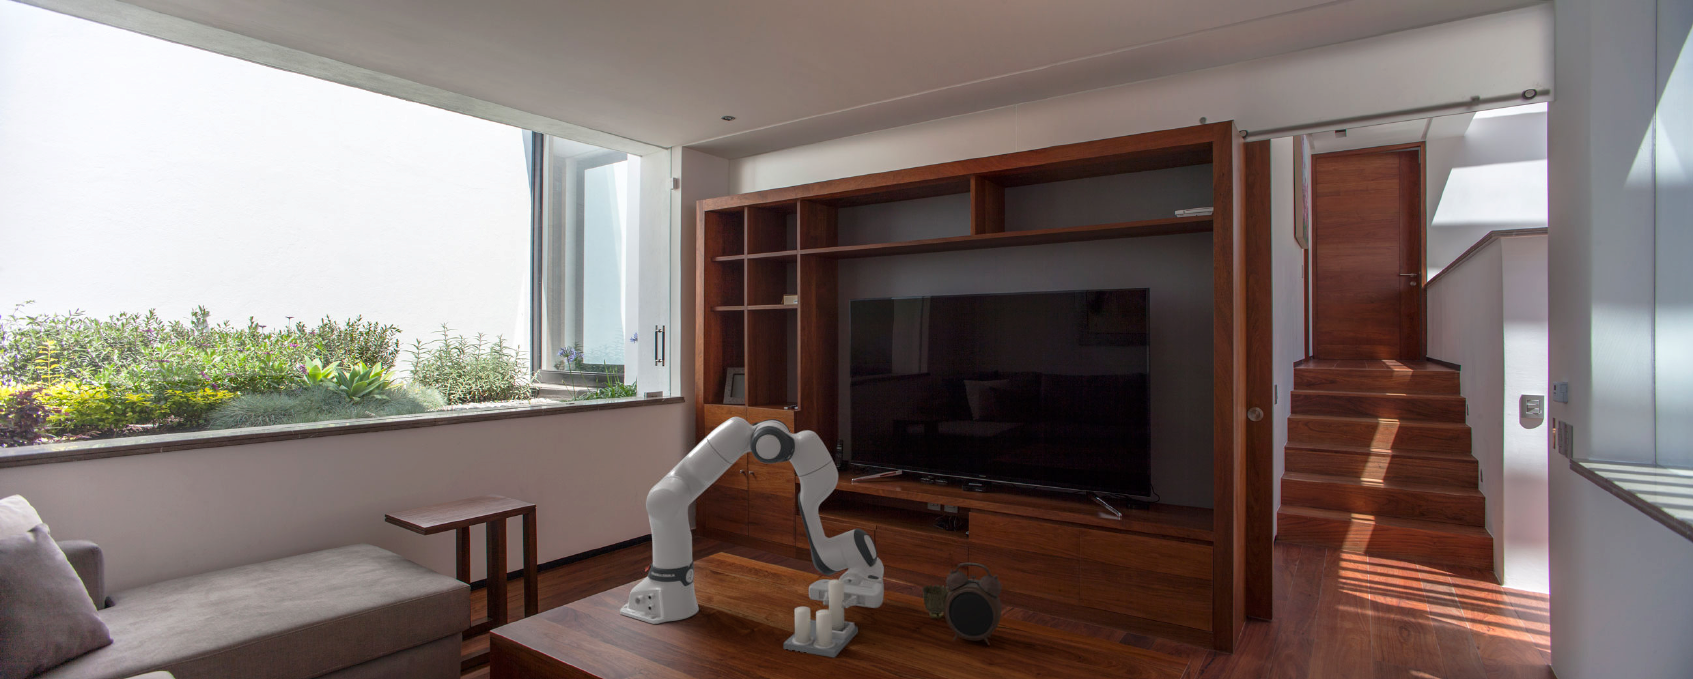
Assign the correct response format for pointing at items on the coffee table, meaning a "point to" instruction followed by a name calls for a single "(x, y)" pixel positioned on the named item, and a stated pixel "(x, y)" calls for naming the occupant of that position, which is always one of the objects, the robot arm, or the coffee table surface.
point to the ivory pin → (836, 603)
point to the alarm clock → (973, 604)
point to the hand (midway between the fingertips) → (835, 603)
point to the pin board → (820, 651)
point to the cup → (935, 600)
